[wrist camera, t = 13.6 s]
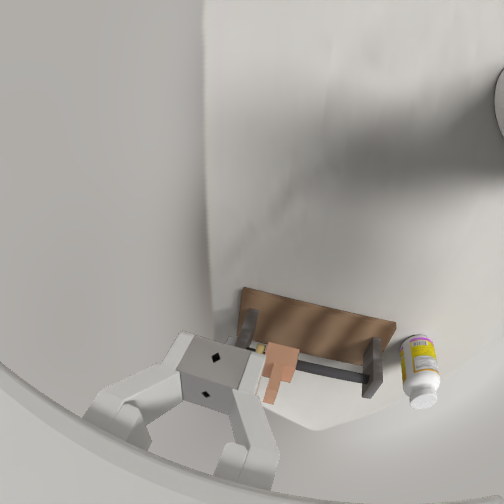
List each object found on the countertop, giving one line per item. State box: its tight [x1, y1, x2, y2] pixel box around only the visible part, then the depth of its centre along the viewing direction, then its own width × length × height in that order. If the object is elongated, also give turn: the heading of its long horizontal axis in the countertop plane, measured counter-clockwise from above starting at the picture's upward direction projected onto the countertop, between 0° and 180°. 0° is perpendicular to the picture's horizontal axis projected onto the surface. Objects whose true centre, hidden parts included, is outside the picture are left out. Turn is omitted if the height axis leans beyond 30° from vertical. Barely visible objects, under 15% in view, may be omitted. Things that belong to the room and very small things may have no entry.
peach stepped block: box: [262, 342, 300, 404], centre depth 45 cm, size 5×4×9 cm
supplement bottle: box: [400, 335, 440, 409], centre depth 45 cm, size 7×7×13 cm
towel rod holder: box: [234, 287, 396, 399], centre depth 50 cm, size 27×11×11 cm, turn 83°
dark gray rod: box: [226, 336, 369, 384], centre depth 47 cm, size 24×4×4 cm, turn 82°
